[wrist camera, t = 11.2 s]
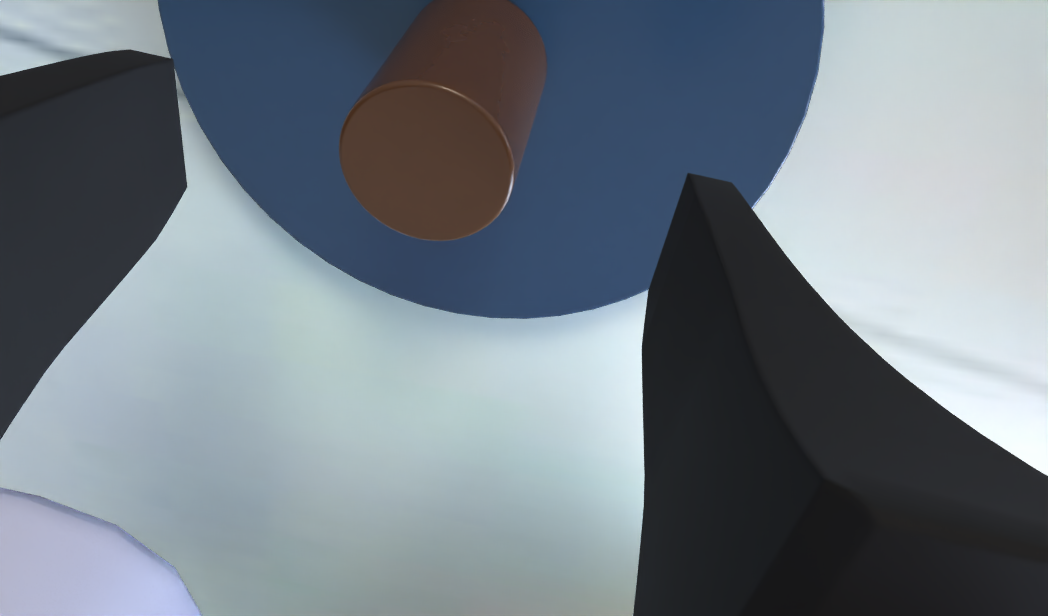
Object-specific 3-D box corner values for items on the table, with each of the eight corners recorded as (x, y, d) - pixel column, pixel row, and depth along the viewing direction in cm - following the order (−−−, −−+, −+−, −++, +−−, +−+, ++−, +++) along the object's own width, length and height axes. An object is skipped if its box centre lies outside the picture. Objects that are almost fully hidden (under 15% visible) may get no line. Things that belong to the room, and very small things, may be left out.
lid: (972, -151, 13) (1106, -65, 9) (632, 358, 20) (622, 529, 16) (228, -529, 11) (-9, -628, 7) (155, 169, 19) (16, 306, 15)
